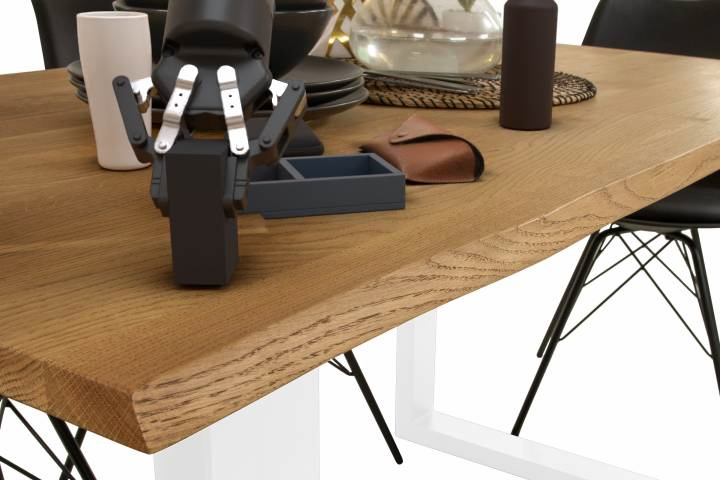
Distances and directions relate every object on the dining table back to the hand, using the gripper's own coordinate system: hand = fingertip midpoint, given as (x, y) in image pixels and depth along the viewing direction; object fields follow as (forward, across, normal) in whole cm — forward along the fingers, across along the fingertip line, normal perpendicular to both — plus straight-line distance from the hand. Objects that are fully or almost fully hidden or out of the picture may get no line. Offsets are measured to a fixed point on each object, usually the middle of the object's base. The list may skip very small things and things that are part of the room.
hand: (198, 210), depth 67 cm
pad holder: (-13, +3, +20) cm, 24 cm away
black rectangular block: (+2, 0, +5) cm, 5 cm away
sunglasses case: (-24, +15, +32) cm, 43 cm away
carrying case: (-27, -2, +35) cm, 44 cm away
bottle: (-41, +29, +49) cm, 70 cm away
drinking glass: (-22, -15, +30) cm, 40 cm away
